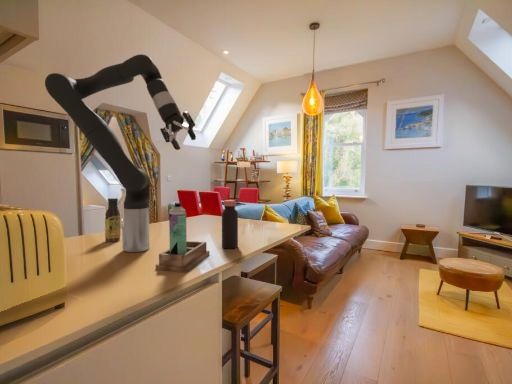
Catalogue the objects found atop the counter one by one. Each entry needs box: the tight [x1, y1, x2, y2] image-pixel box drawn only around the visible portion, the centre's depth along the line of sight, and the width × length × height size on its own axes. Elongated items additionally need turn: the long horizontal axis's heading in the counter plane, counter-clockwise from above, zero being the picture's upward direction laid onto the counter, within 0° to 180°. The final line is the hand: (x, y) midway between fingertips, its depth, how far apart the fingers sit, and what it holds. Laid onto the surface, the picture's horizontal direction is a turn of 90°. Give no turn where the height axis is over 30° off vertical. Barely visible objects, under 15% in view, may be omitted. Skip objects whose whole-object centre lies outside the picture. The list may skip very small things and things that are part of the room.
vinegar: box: [221, 199, 239, 250], centre depth 112 cm, size 7×7×20 cm
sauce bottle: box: [104, 197, 121, 243], centre depth 122 cm, size 7×6×20 cm
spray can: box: [168, 202, 187, 255], centre depth 89 cm, size 6×6×20 cm
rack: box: [155, 240, 210, 273], centre depth 94 cm, size 11×19×5 cm, turn 168°
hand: (186, 144), depth 103 cm, fingers open, 8 cm apart
